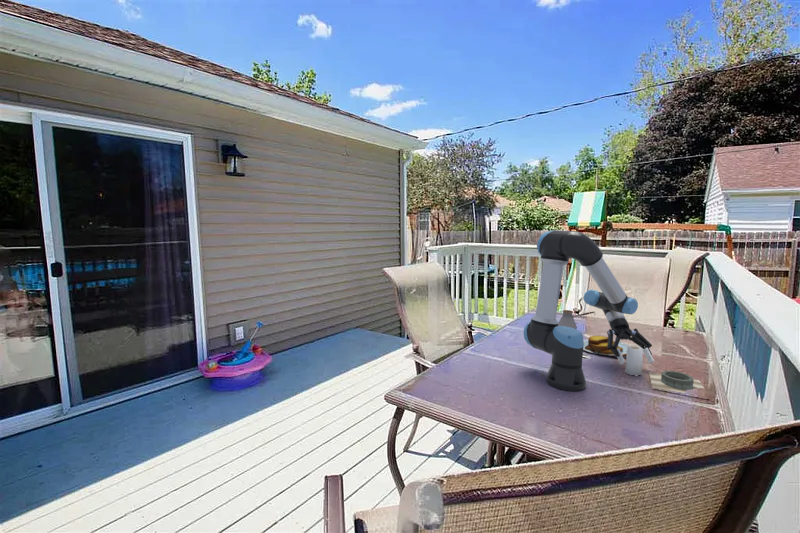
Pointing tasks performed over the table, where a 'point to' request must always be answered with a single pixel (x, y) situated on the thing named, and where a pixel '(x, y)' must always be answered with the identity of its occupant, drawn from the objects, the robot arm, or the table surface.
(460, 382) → the table surface
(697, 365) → the table surface
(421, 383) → the table surface
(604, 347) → the food on plate
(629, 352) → the paper roll
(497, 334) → the table surface
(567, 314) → the coffee pot
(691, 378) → the roll holder
